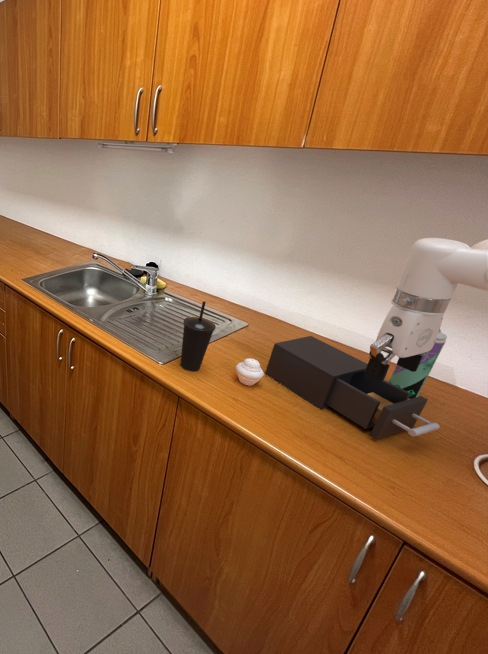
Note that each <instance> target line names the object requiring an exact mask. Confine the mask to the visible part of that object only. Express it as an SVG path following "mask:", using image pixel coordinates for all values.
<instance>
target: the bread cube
mask: <svg viewBox="0 0 488 654" xmlns="http://www.w3.org/2000/svg"><path fill="white" fill-rule="evenodd" d="M367 395H369V396H371V397H373V398H375V399H376V400H378V401H380V405H379V407H378V409H377V411H376V413H375V415H374V417H373V419H372V422H373V423H374V424H376V422H377V420H378V418H379V415H380V413H381V411H382V409H383V407H384V406H388V405H391V404H394V403H392V402H390V401H388V400H386V399H384V398H382V397H381V396H379V395H377V394H375V393H373V392H372V393H368V394H367Z"/></svg>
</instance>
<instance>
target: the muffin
mask: <svg viewBox="0 0 488 654" xmlns="http://www.w3.org/2000/svg"><path fill="white" fill-rule="evenodd" d="M235 372H236V375H237V378H238V380H239V382H240V383H241V384H242V385H245V386H249V387H250V386H254V385H255V384H257V383H258V382H259V381H261V379H263V378H264V376H265V373H264V370H263V369H262V368H261V364H260V362H259V361H258V360H257V359H256V358H255V359H254V358H252V357H251V358H250V357H248V358H245V359H244V360H243V361H241V362H239V363H237V364H236V366H235Z"/></svg>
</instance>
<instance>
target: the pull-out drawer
mask: <svg viewBox="0 0 488 654" xmlns="http://www.w3.org/2000/svg"><path fill="white" fill-rule="evenodd" d="M372 392H373V393H375V394H377V395H379V396H381V397H382V398H384V399H386V400H388V401H390V402H392V403H394V404H391V405H388V406H384V407H383V409H382V411H381V413H380V415H379V418H378V420H377V422H376V424H374V423H373V422H372V419H373V417H374V415H375V413H376V411H377V409H378V407H379V405H380V401H378V400H376V399H375V398H373V397H371V396H369V395H367V394H368V393H372ZM410 394H411V393H409V392H407V391H405V390H403V389H401V388H399V387H397V386H395V385H393V384H391V383H389V381H387V380H386V379H384V380H383V381H379V380H377V379H375V378H373V377H371V376H369V375H367V374H366V373H365V371H362V372H358V373H354V374H350V375H346V376H342V377H338V378H335V380H334V382H333V385H332V387H331V390H330V392H329V395H328V397H327V400H326V402H325V404H327V405H328V406H330V407H329V408H331V409H333V410H335V411H336V412H338V413H339V414H341V415H343V416H344V417H346V418H347V419H349V420H351V421H352V422H354V423H355V424H357V425H358V426H360V427H362V428H363V429H365V430H367V429H371V428H372V431H371V432H370V434H369V436H370V437H372V438H373V439H375V440H379V439H381V438H385V437H388V436H391V435H394V434H398V433H400V432H401V433H402V432H404V431H406V432H407V434H408V435H409V436H410V437H413V438H415V437H419V436H422V435H425V434H428V433H431V432H434V431H437V430H440V428H441V426H440V424H439V423H437V422H435V421H430V420H427V419H426V418H424V417H423V416H420V415H421V414H422V412H423V410H424V408H425V406H426V404H427V402H428V401H429V400H428V398H426V397H425V396H422V395H420V396H419V395H418V397H416V398H412V399H409V400H408V398H409V396H410ZM417 421H420V422H421V423H423V425H420V426H416V427H415V425H416V424H417Z"/></svg>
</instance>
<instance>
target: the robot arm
mask: <svg viewBox="0 0 488 654" xmlns="http://www.w3.org/2000/svg"><path fill="white" fill-rule="evenodd" d="M458 284H461V285H463V286H468V287H470V288H471V287H472V288H475V289H478V290H482V291H486V292H488V238H487V239H484V240H482V241H479V242H477V243H475V244H473V245H472V246H469V245H468V244H467V243H465V242H462V241H459V240H454V239H450V238H443V237H423V238H419V239H417V240H416V241H415V242H413V244H412V246H411V249H410V250H409V253H408V257H407V259H406V261H405V264H404V267H403V270H402V272H401V275H400V278H399V280H398V282H397V285H396V287H395V289H394V293H393V296H392V298H391V301H390V303H391V304H392V305H391V307H390V309H389V310H388V312H387V314H386V316H385V318H384V319H383V322H382V324H381V327H380V328H379V331H378V333H377V336H376V339H375V341H374V342H372V343H370V346H369V353H368V355H369V356H368V358H369V359H368V363H367V364H368V365H367V367H366V370H365V373H366V374H367V375H369V376H371V377H373V378H375V379H377V380H379V381H383V380H386V376H387V374H388V372H389V369H390V366H391V365H390V364H389V363H390V362H391V361H392V360H393V359H394V358H395V356H396V357H397V362H396V365H398V366H401V367H403V368H405V369H407V370H410V371H412V372H415V371H417V368H418V366H419V364H420V362H421V359H422V357H423V356H421V355H424V354H425V353H426V352H428V351H430V350H431V349H432V348H433V346H434V343H435V341H436V338H437V335H438V332H439V330H441V327H442V323H443V320H444V315H445V313H446V311H447V309H448V307H449V304H450V302H451V300H452V298H453V295H454V293H455V291H456V288H457V286H458ZM389 348H390V349H389ZM382 352H383V353H385V354H386V356H385V355H384V354H383V353H382Z"/></svg>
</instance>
